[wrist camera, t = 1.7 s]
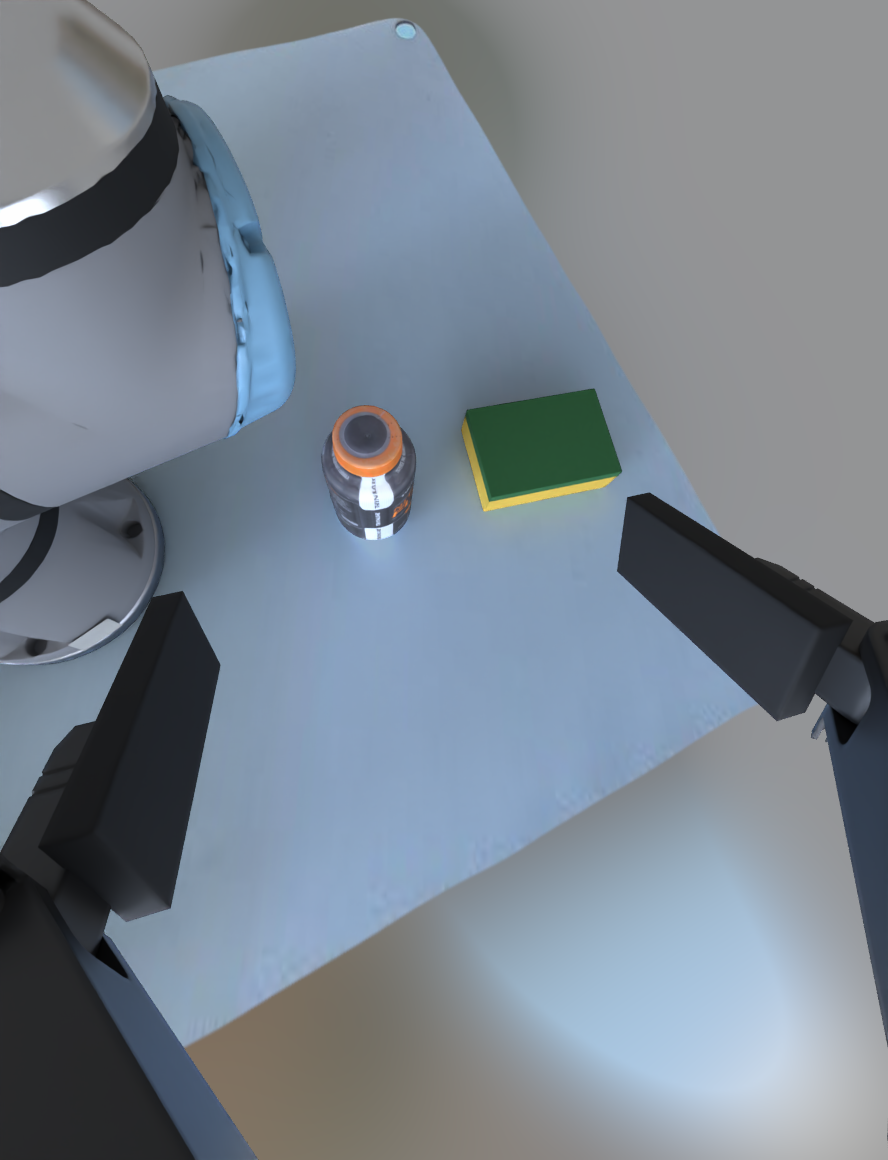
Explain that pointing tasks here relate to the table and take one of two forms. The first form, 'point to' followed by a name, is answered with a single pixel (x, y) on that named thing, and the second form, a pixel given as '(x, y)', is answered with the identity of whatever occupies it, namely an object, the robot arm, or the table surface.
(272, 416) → the table surface
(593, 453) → the sponge
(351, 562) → the table surface
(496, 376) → the table surface
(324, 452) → the orange-lidded supplement jar
